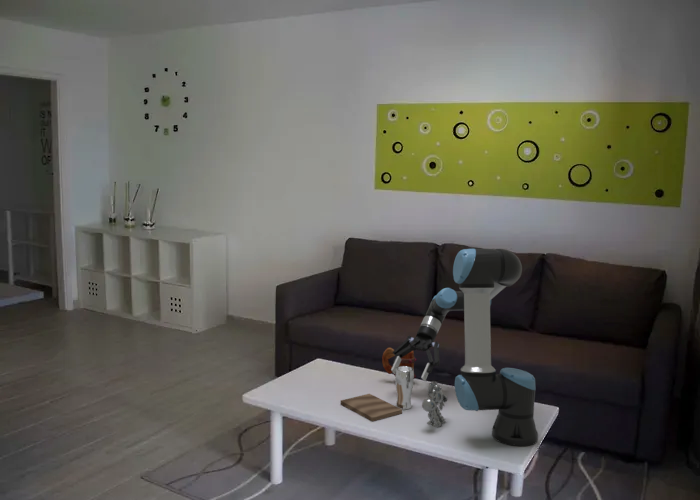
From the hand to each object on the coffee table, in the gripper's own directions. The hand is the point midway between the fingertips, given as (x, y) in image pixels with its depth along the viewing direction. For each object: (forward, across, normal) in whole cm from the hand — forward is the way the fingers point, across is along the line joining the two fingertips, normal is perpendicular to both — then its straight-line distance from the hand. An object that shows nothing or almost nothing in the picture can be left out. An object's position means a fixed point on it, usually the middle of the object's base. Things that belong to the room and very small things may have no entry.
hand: (407, 375), depth 247 cm
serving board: (+18, +8, +2) cm, 19 cm away
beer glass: (+11, -1, -5) cm, 12 cm away
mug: (-5, +15, -21) cm, 26 cm away
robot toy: (+16, -18, 0) cm, 24 cm away
